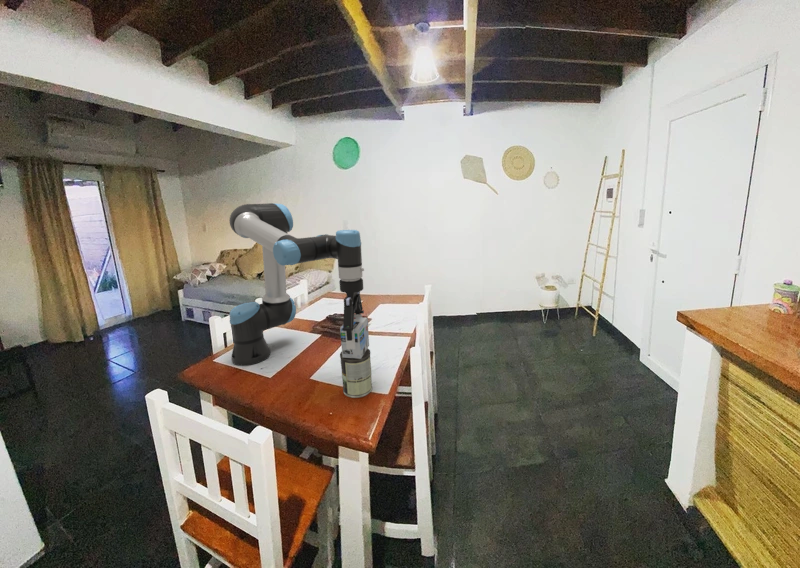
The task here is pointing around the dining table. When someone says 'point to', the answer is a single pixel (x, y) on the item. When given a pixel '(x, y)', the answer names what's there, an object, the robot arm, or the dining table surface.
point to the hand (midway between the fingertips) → (355, 339)
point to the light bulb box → (356, 339)
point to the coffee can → (356, 375)
